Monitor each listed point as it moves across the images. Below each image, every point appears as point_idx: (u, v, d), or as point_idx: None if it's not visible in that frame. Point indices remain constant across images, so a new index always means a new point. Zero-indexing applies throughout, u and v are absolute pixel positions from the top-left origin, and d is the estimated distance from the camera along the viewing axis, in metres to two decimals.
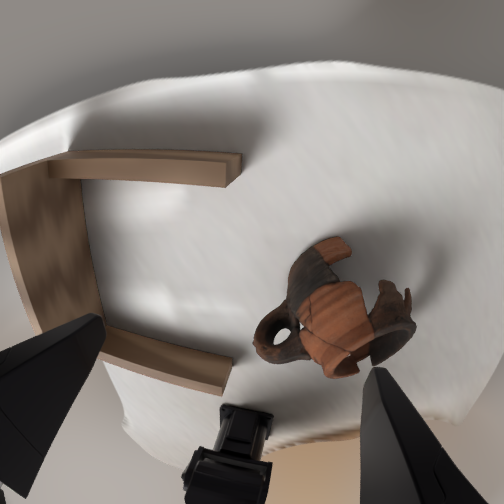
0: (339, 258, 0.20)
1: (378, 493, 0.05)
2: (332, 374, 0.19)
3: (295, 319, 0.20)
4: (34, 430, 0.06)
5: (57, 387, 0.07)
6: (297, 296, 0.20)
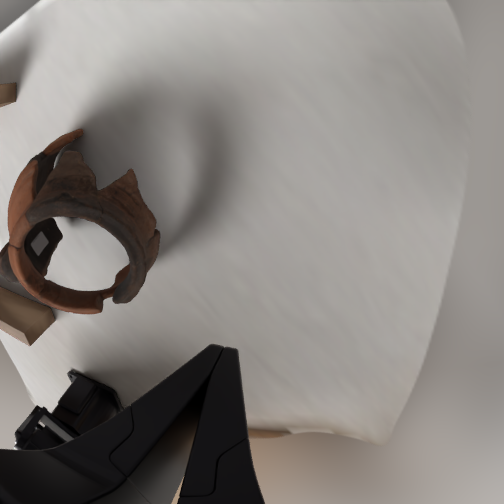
0: (56, 145, 0.13)
1: None
2: (38, 295, 0.12)
3: None
4: (159, 493, 0.05)
5: (184, 438, 0.07)
6: None
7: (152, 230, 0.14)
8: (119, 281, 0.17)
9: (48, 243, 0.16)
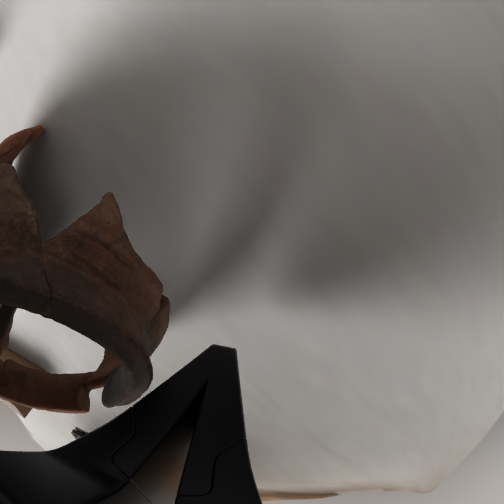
0: None
1: None
2: None
3: None
4: (161, 494, 0.05)
5: None
6: None
7: (156, 303, 0.08)
8: (110, 358, 0.10)
9: None
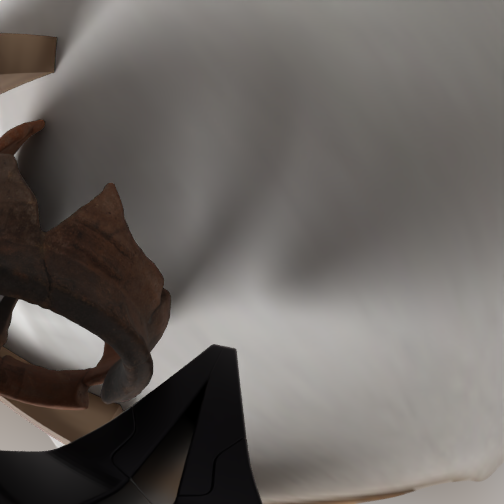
0: None
1: None
2: None
3: None
4: (161, 494, 0.05)
5: None
6: None
7: (157, 296, 0.07)
8: (110, 354, 0.10)
9: None
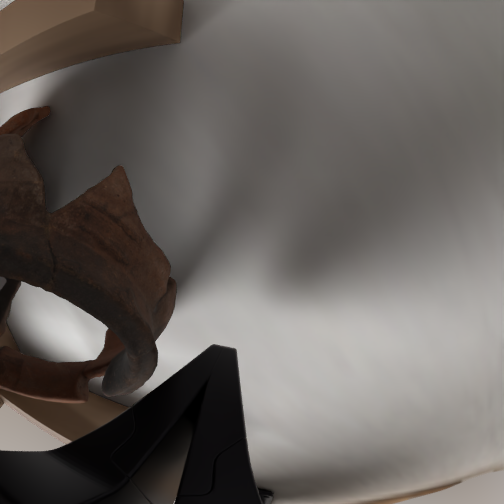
0: (3, 132, 0.07)
1: None
2: None
3: None
4: (161, 494, 0.05)
5: None
6: None
7: (164, 284, 0.07)
8: (111, 346, 0.10)
9: (5, 283, 0.10)
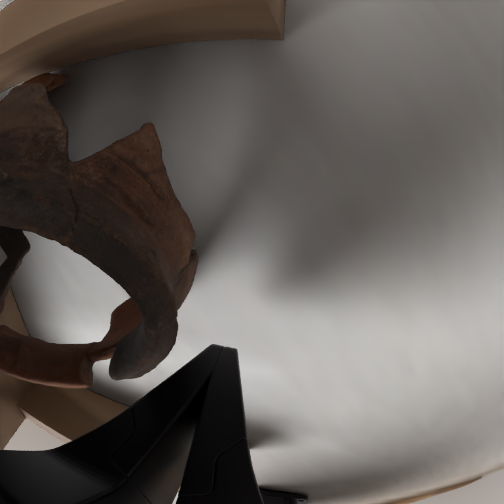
0: None
1: None
2: None
3: None
4: (160, 494, 0.05)
5: None
6: None
7: (187, 253, 0.07)
8: (118, 327, 0.10)
9: (5, 260, 0.09)
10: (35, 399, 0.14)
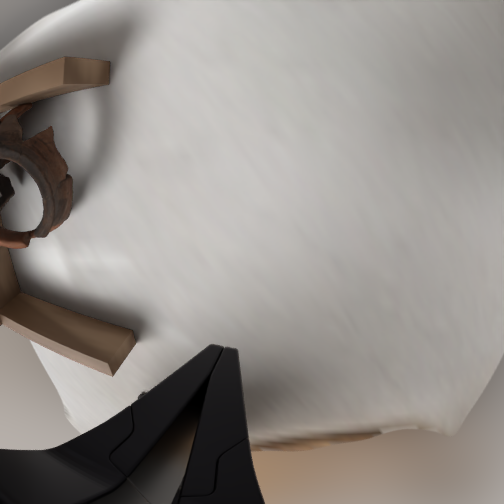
0: (9, 115, 0.14)
1: None
2: None
3: None
4: (159, 493, 0.05)
5: (184, 438, 0.07)
6: None
7: (63, 174, 0.15)
8: None
9: (0, 196, 0.17)
10: (10, 307, 0.22)
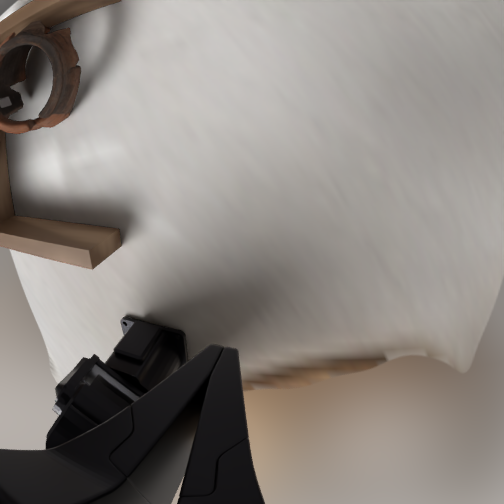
0: None
1: None
2: None
3: None
4: (159, 493, 0.05)
5: None
6: (1, 69, 0.14)
7: (74, 62, 0.14)
8: None
9: (10, 105, 0.16)
10: (1, 225, 0.22)
